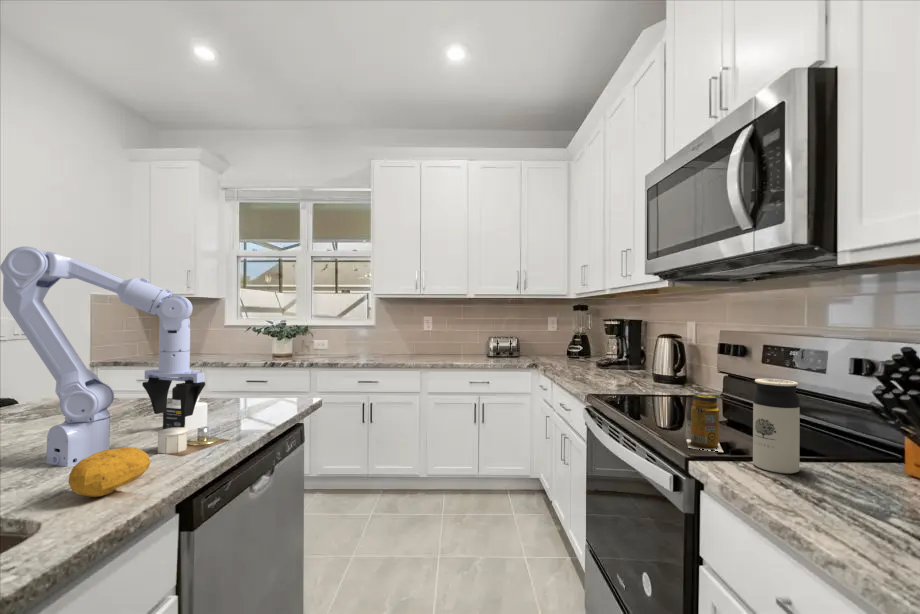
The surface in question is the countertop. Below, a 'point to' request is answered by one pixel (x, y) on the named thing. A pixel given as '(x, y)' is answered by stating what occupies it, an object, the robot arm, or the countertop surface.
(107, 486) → the potato
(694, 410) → the condiment
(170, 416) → the medicine bottle
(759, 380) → the travel mug
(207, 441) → the knob
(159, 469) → the countertop surface
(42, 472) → the countertop surface
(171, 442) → the cap
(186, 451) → the board
